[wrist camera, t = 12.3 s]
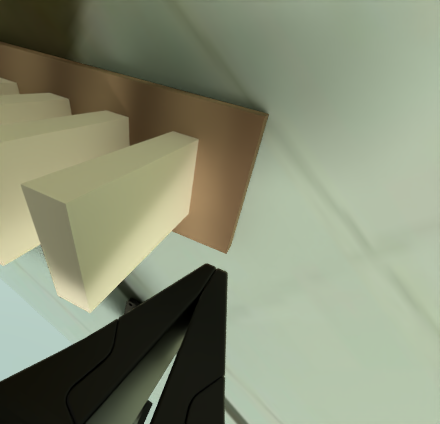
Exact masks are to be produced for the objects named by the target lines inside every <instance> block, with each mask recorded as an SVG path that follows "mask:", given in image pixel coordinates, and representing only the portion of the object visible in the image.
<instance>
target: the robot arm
mask: <svg viewBox="0 0 440 424" xmlns="http://www.w3.org/2000/svg"><path fill="white" fill-rule="evenodd" d="M227 279H228V274H227V272H226V271H223V270H221V269H219V268H218V269H216V267H214V266H212V265H210V264H204V265H202V266H201V267H199V268H198V269H196V270H194V271H193V272H191V273H190V274H188V275H186V276H185V277H183V278H182V279H180V280H178V281H177V282H175V283H174V284H172V285H170V286H169V287H167V288H166V289H164V290H162V291H161V292H159V293H158V294H156V295H154V296H153V297H151V298H150V299H148V300H146V301H145V302H143V303H142V304H140V303H138V302H137V301H135V300H134V299H131V298H130V299H129V300H128V301H127V303H126V308H125V313H124V315H122V316H121V317H119V319H116V320H114V321H112V322H111V323H109V324H108V325H106V326H105V327H103V328H101V329H99V330H98V331H96V332H94V333H93V334H91V335H89V336H88V337H86V338H84V339H82V340H80V341H79V342H77V343H75V344H73V345H71V346H69V347H67V348H65V349H63V350H62V351H60V352H58V353H56V354H54V355H52V356H50V357H48V358H46V359H44V360H42V361H40V362H38V363H36V364H34V365H32V366H30V367H28V368H26V369H24V370H22V371H20V372H18V373H16V374H14V375H12V376H10V377H9V378H7V379H4V380H2V381H0V424H144V422H145V420H146V417H147V415H148V413H149V410H150V408H151V406H152V403H151V402H150V401H149V400H148V398H149V397H150V395H151V393H152V392H153V390H154V388H155V387H156V385H157V384H158V382H159V380H160V379H161V377H162V375H163V374H164V372H165V371H166V369H167V367H168V366H169V364H170V363H171V361H172V359H173V358H174V356H175V354H176V353H177V351H178V350H179V351H178V353H177V356H176V358H175V361H174V363H173V366H172V369H171V371H170V374H169V376H168V379H167V381H166V384H165V386H164V389H163V391H162V394H161V397H160V399H159V402H158V404H157V407H156V409H155V412H154V414H153V417H152V419H151V422H150V424H225V377H224V376H225V353H226V316H227Z"/></svg>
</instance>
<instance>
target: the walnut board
mask: <svg viewBox="0 0 440 424" xmlns="http://www.w3.org/2000/svg"><path fill="white" fill-rule="evenodd" d="M0 78H3V79H6V80H9V81H12V82H15V83H17V86H18V90H19V94H35V93H52V94H55V95H58V96H61V97H64V98H67V99H69V102H70V108H71V114H72V115H77V114H84V113H91V112H98V111H105V110H107V111H110V112H113V113H116V114H120V115H123V116H126V117H129V143H130V146H132V145H134V144H137V143H140V142H143V141H146V140H149V139H152V138H155V137H158V136H160V135H163V134H166V133H169V132H172V131H174V132H177V133H180V134H184V135H187V136H190V137H193V138H196V139H199V141H198V148H197V156H196V163H195V171H194V178H193V186H192V193H191V200H190V208H189V214H188V215H187V216H186V217H185V218H184V219H183V220H182V221H181V222H180V223H179V224H178V225H177V226H176V227H175V228H174V229H173V230H172V231H173V232H175V233H178V234H180V235H183V236H185V237H187V238H190V239H192V240H195V241H197V242H199V243H202V244H204V245H206V246H209V247H211V248H214V249H216V250H218V251H221V252H223V253H226V254H227V252H228V250H229V248H230V246H231V244H232V240H233V237H234V233H235V230H236V226H237V223H238V219H239V216H240V212H241V209H242V206H243V202H244V199H245V195H246V192H247V188H248V185H249V181H250V178H251V174H252V171H253V167H254V164H255V160H256V157H257V154H258V150H259V147H260V143H261V140H262V136H263V133H264V129H265V126H266V122H267V119H268V115H269V114H267V113H263V112H260V111H256V110H252V109H249V108H245V107H241V106H237V105H234V104H230V103H226V102H223V101H219V100H215V99H211V98H208V97H204V96H200V95H197V94H193V93H189V92H186V91H182V90H178V89H174V88H171V87H167V86H163V85H160V84H156V83H152V82H149V81H145V80H141V79H137V78H134V77H130V76H126V75H123V74H119V73H115V72H111V71H108V70H104V69H100V68H97V67H93V66H89V65H86V64H82V63H78V62H74V61H71V60H67V59H63V58H60V57H56V56H52V55H48V54H45V53H41V52H37V51H34V50H30V49H26V48H23V47H19V46H15V45H11V44H8V43H4V42H0Z"/></svg>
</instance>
